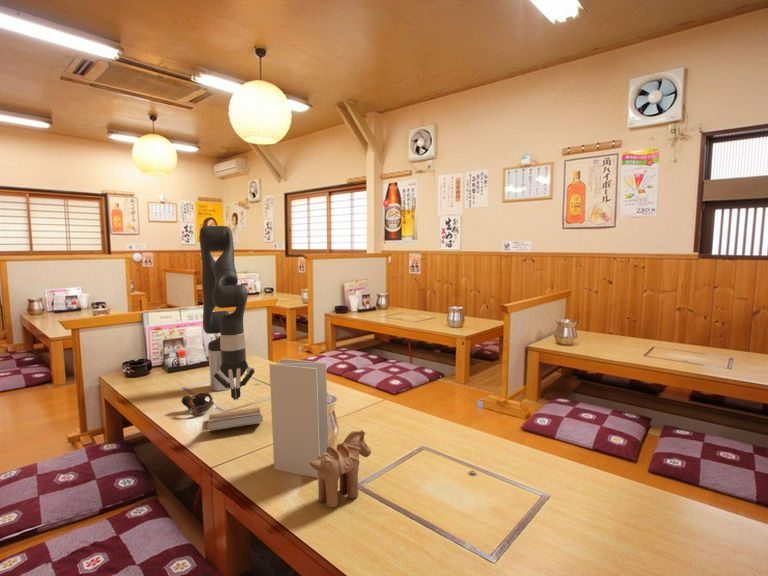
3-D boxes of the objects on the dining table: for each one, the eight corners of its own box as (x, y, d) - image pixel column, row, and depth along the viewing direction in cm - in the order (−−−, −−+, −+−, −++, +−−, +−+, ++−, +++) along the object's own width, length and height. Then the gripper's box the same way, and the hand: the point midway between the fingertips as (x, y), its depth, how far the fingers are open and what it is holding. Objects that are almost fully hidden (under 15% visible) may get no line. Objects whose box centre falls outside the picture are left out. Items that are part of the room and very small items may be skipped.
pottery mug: (217, 406, 163) (218, 392, 159) (207, 426, 155) (207, 411, 151) (186, 399, 162) (186, 385, 158) (174, 419, 154) (173, 404, 150)
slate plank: (208, 430, 141) (208, 424, 141) (261, 422, 147) (261, 416, 147) (207, 429, 134) (207, 423, 135) (262, 421, 140) (262, 414, 141)
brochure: (329, 467, 117) (326, 362, 114) (320, 478, 112) (316, 368, 109) (285, 459, 122) (280, 358, 119) (274, 469, 117) (269, 364, 113)
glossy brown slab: (209, 420, 149) (209, 413, 149) (259, 412, 155) (259, 406, 155) (209, 429, 142) (208, 422, 142) (261, 420, 148) (260, 414, 148)
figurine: (379, 487, 108) (378, 431, 106) (321, 517, 96) (319, 455, 94) (361, 475, 113) (360, 422, 111) (304, 503, 102) (302, 444, 100)
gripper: (253, 342, 141) (256, 392, 143) (211, 346, 137) (214, 397, 139) (255, 347, 134) (257, 399, 136) (210, 351, 130) (213, 406, 132)
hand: (235, 398), depth 138 cm, fingers closed
